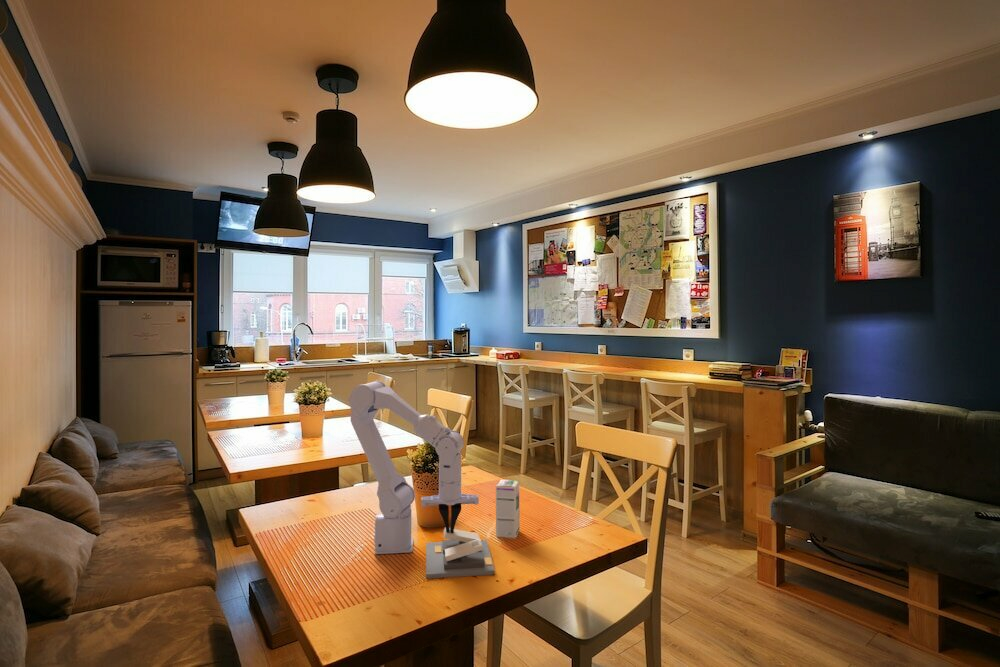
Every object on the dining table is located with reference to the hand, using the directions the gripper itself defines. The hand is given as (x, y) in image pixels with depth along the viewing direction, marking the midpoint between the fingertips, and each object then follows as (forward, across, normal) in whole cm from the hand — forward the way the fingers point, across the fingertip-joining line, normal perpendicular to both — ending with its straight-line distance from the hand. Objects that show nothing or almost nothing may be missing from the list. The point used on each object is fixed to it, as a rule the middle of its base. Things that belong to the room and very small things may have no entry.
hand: (449, 532), depth 135 cm
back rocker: (+1, +3, 0) cm, 3 cm away
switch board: (+5, +2, -4) cm, 7 cm away
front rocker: (+1, +3, -8) cm, 9 cm away
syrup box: (+6, +16, +10) cm, 20 cm away
